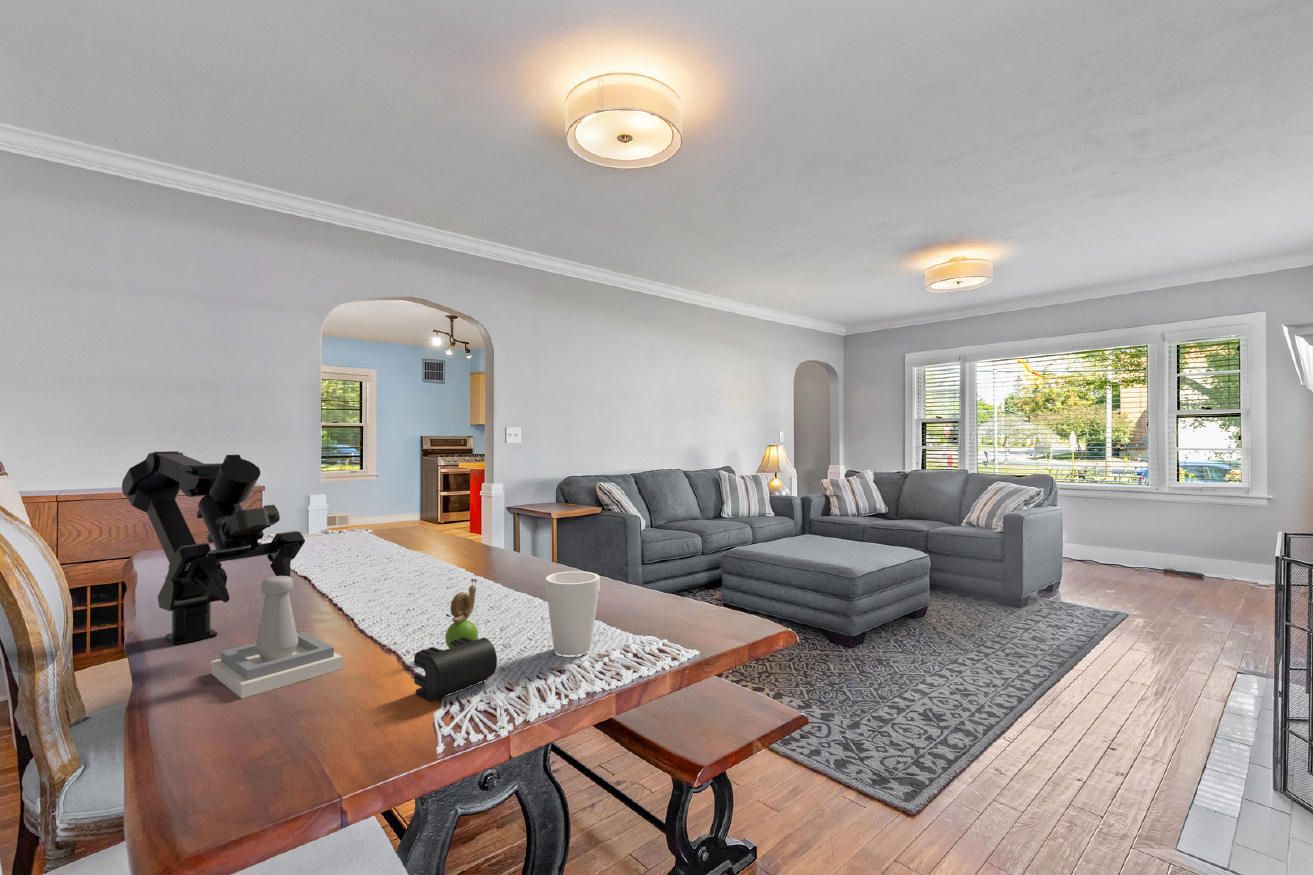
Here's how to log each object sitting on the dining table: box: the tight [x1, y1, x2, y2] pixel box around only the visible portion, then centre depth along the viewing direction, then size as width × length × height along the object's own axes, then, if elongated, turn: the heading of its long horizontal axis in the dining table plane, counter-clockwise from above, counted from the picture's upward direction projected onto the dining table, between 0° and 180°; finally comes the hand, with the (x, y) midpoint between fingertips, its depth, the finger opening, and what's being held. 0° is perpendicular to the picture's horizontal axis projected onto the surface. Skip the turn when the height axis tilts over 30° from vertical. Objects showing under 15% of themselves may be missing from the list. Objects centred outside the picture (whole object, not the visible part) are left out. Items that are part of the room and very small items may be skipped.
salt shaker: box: [255, 575, 298, 662], centre depth 95 cm, size 6×6×13 cm
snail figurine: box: [444, 578, 479, 649], centre depth 104 cm, size 5×6×12 cm
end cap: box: [413, 637, 498, 703], centre depth 88 cm, size 10×7×7 cm
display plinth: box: [210, 631, 344, 699], centre depth 95 cm, size 14×14×4 cm
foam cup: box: [544, 570, 601, 655], centre depth 104 cm, size 10×9×13 cm
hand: (259, 593), depth 98 cm, fingers open, 9 cm apart
